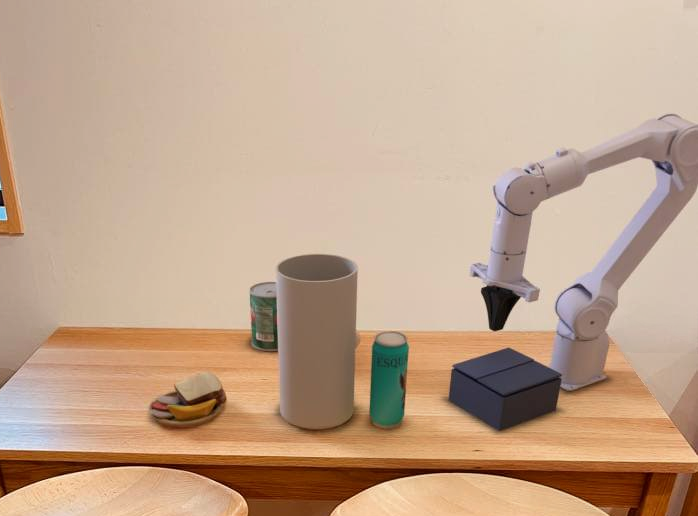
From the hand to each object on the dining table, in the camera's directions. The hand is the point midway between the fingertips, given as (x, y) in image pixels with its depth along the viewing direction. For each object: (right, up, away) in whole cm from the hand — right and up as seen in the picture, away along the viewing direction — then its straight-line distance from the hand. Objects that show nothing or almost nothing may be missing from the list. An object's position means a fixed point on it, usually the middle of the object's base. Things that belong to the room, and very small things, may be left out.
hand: (496, 329), depth 145 cm
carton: (+1, -13, 0) cm, 13 cm away
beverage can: (-19, -17, -4) cm, 26 cm away
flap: (-1, -6, -2) cm, 7 cm away
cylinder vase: (-31, -15, -1) cm, 34 cm away
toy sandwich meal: (-53, -14, +1) cm, 55 cm away
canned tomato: (-39, +3, +22) cm, 45 cm away
